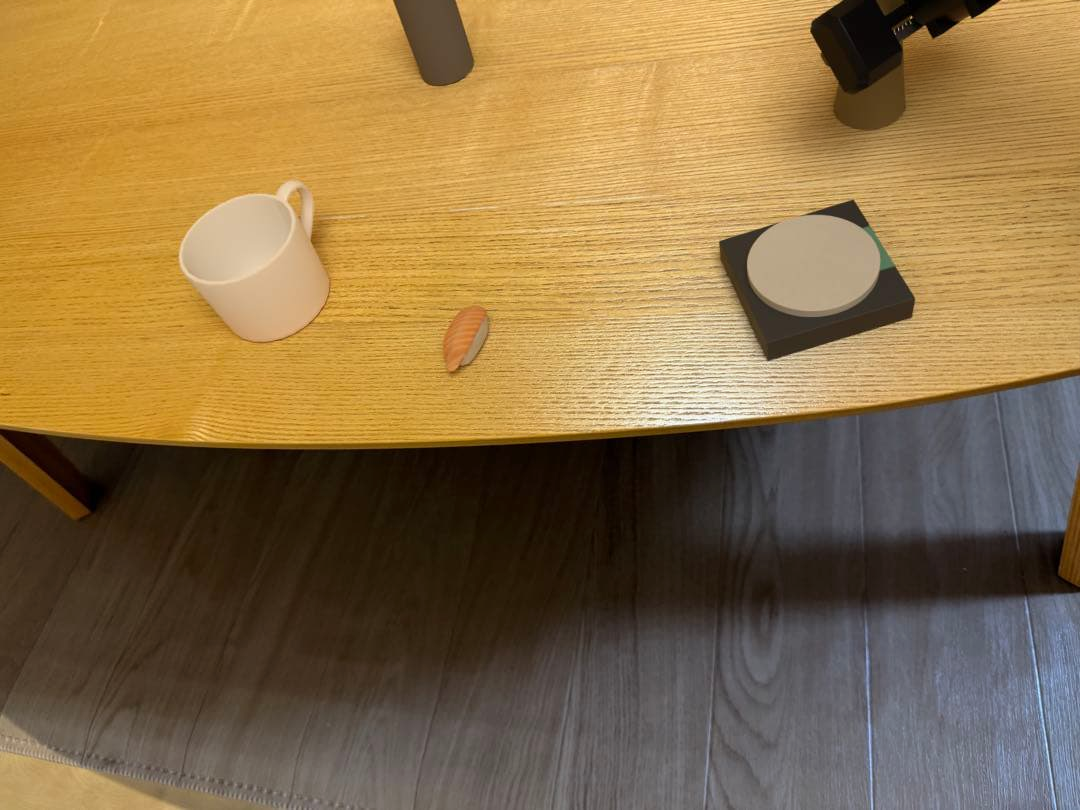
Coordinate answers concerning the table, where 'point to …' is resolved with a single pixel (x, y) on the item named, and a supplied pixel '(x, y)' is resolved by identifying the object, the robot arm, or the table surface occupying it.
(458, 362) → the sushi
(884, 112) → the brown chess pawn
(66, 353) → the table surface
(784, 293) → the scale
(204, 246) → the mug
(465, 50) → the bottle
